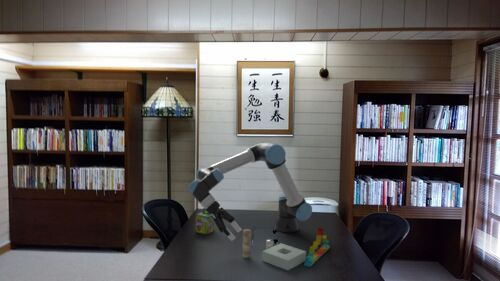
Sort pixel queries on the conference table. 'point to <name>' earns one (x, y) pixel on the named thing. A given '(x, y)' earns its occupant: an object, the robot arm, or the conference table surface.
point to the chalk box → (204, 223)
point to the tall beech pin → (246, 243)
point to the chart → (315, 256)
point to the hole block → (284, 256)
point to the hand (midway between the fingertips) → (237, 235)
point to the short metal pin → (269, 243)
